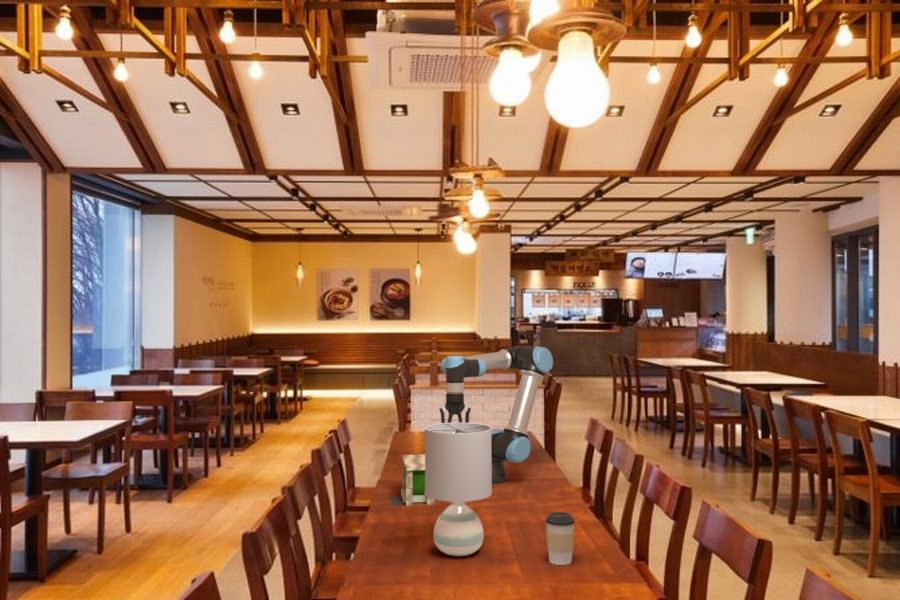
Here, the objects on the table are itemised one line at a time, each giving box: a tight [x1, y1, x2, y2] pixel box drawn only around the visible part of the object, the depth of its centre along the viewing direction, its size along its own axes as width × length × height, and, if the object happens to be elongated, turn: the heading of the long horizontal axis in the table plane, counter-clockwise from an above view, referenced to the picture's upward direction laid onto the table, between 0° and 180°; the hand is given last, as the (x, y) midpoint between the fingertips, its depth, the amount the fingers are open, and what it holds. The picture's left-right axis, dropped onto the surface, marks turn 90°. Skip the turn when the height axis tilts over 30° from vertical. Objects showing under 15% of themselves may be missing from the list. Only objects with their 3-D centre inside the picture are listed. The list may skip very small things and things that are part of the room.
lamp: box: [424, 422, 493, 557], centre depth 237 cm, size 22×22×40 cm
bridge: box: [401, 453, 434, 507], centre depth 304 cm, size 11×24×16 cm, turn 8°
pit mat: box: [389, 495, 403, 506], centre depth 301 cm, size 4×14×1 cm, turn 8°
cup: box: [412, 470, 425, 496], centre depth 304 cm, size 9×9×11 cm
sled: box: [400, 488, 436, 504], centre depth 306 cm, size 31×13×8 cm, turn 98°
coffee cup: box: [545, 511, 576, 566], centre depth 227 cm, size 9×9×15 cm
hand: (455, 448), depth 307 cm, fingers open, 4 cm apart
